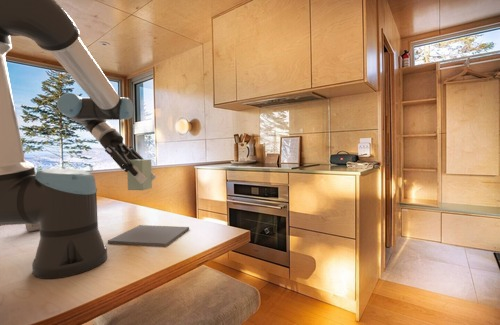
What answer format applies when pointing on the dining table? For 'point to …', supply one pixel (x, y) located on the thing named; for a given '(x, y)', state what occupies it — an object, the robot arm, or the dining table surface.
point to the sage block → (145, 169)
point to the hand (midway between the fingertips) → (148, 180)
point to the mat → (149, 235)
